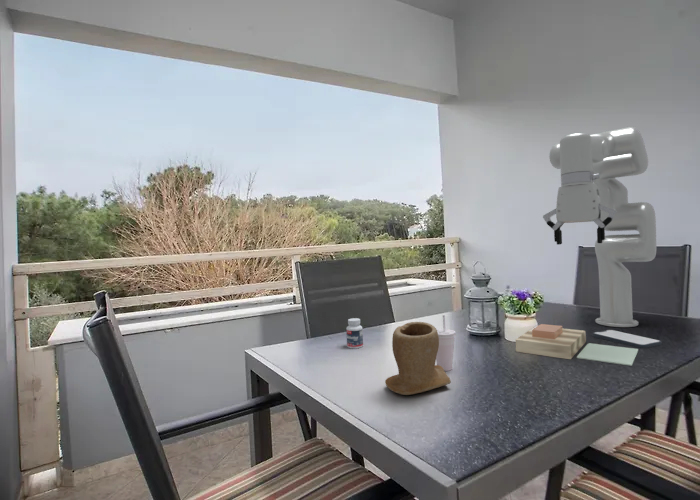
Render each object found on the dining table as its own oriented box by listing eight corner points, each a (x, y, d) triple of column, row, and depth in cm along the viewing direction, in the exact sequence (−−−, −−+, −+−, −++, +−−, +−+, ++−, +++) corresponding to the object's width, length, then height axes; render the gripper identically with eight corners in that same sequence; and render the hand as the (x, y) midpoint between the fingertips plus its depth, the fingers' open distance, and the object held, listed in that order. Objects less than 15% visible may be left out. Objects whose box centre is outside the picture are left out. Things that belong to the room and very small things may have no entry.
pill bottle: (344, 348, 125) (343, 320, 124) (350, 344, 129) (349, 317, 129) (360, 349, 123) (358, 321, 122) (365, 344, 127) (364, 318, 127)
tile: (541, 330, 121) (540, 323, 121) (562, 332, 117) (562, 325, 117) (532, 336, 114) (532, 329, 114) (554, 339, 110) (554, 332, 110)
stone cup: (405, 405, 80) (402, 333, 79) (379, 386, 91) (376, 322, 90) (465, 391, 85) (462, 323, 85) (434, 375, 96) (431, 315, 96)
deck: (536, 336, 127) (536, 325, 127) (585, 342, 118) (585, 330, 118) (515, 351, 112) (515, 339, 112) (570, 359, 103) (570, 346, 103)
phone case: (664, 346, 112) (610, 334, 127) (664, 341, 112) (610, 329, 127) (643, 351, 109) (590, 337, 124) (643, 345, 109) (590, 332, 124)
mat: (588, 344, 116) (588, 343, 115) (638, 350, 108) (638, 348, 108) (576, 358, 103) (576, 356, 103) (631, 365, 96) (631, 364, 96)
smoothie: (443, 374, 96) (440, 318, 96) (427, 367, 102) (424, 314, 102) (462, 369, 99) (460, 315, 99) (445, 363, 105) (443, 311, 105)
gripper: (616, 177, 102) (619, 242, 103) (545, 186, 114) (547, 244, 114) (613, 174, 97) (615, 243, 97) (538, 183, 108) (540, 245, 108)
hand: (579, 243), depth 105 cm, fingers open, 9 cm apart
